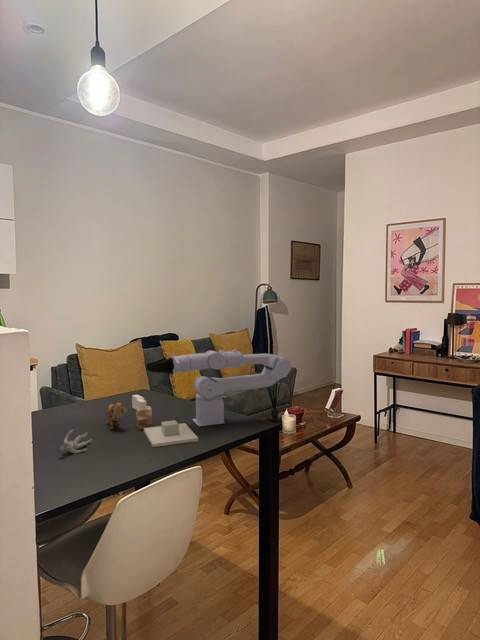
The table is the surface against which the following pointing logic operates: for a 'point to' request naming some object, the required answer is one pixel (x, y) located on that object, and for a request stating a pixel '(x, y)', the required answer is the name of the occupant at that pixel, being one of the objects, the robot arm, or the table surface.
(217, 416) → the robot arm
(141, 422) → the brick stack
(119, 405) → the lion figurine
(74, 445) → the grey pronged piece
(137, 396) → the beige rectangular block
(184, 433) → the board
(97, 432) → the table surface
